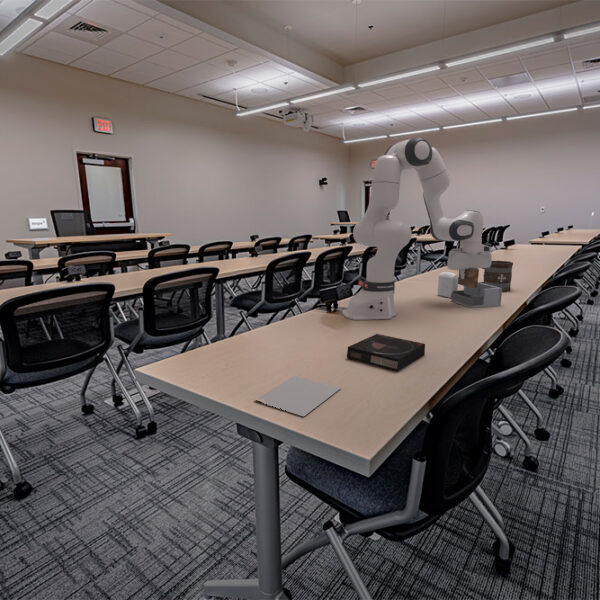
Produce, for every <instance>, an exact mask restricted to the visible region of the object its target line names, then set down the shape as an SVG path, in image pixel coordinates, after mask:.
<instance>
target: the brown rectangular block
mask: <svg viewBox="0 0 600 600" xmlns="http://www.w3.org/2000/svg"><path fill="white" fill-rule="evenodd" d="M464 274H465V275H467V277H466V279H461V273H460V272H459V271H458V285H460V286H463V287H464V286H467V287H470V288H477V287H478V283H479V274H480V268H478V269H474V268H473V269H465V272H464Z"/></svg>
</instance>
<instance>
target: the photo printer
mask: <svg viewBox="0 0 600 600" xmlns="http://www.w3.org/2000/svg"><path fill="white" fill-rule="evenodd" d="M458 277H459V275H457V274H456V273H453V272H451V271H443V272H440V273H439V274H438V282H437V296H441V297H445V298H450V299H451V293H453V291H457V290H458V289H459V284H458Z"/></svg>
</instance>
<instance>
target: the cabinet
mask: <svg viewBox="0 0 600 600" xmlns="http://www.w3.org/2000/svg"><path fill="white" fill-rule="evenodd" d="M502 294H503V293H502V288H499V287H495V286H491V285H487V284H483V283H479V282H478V287H477V288H470V287H467V286H463V290H462V289H460V290H457V291H453V293H451V298H450V302H453V303H454V304H455V303H456V304H458V305H461V306H463V305H464V307H466V306H467V308H470V309H476V308H478V307H480V308H491V307H501V306H502Z"/></svg>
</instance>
